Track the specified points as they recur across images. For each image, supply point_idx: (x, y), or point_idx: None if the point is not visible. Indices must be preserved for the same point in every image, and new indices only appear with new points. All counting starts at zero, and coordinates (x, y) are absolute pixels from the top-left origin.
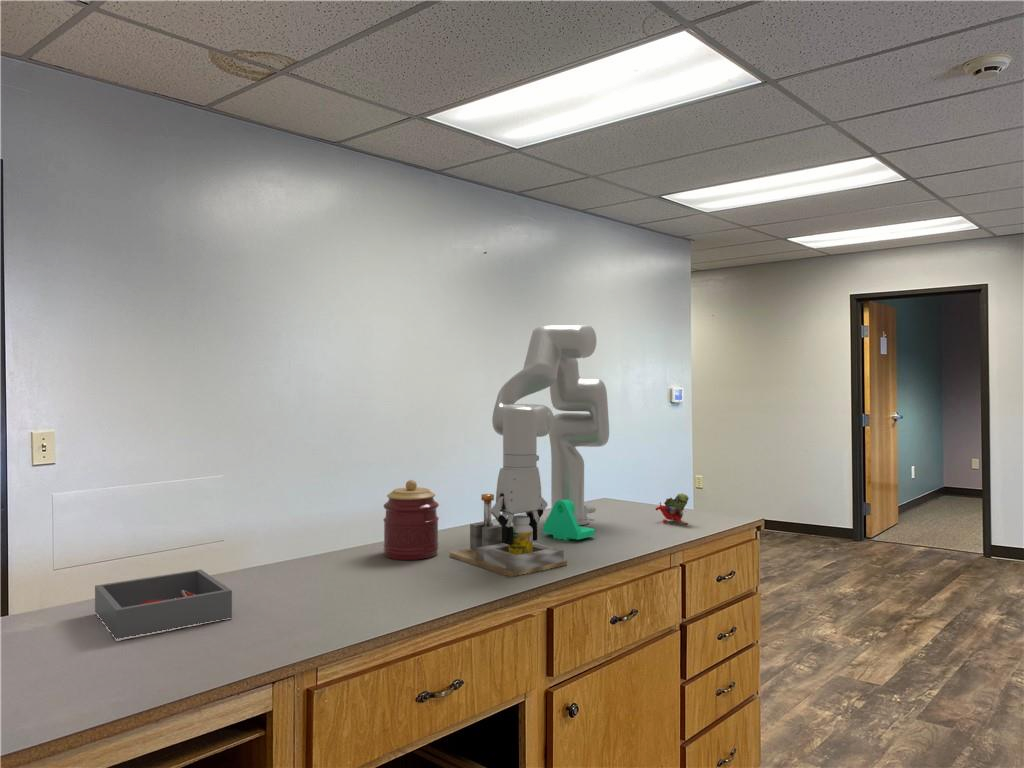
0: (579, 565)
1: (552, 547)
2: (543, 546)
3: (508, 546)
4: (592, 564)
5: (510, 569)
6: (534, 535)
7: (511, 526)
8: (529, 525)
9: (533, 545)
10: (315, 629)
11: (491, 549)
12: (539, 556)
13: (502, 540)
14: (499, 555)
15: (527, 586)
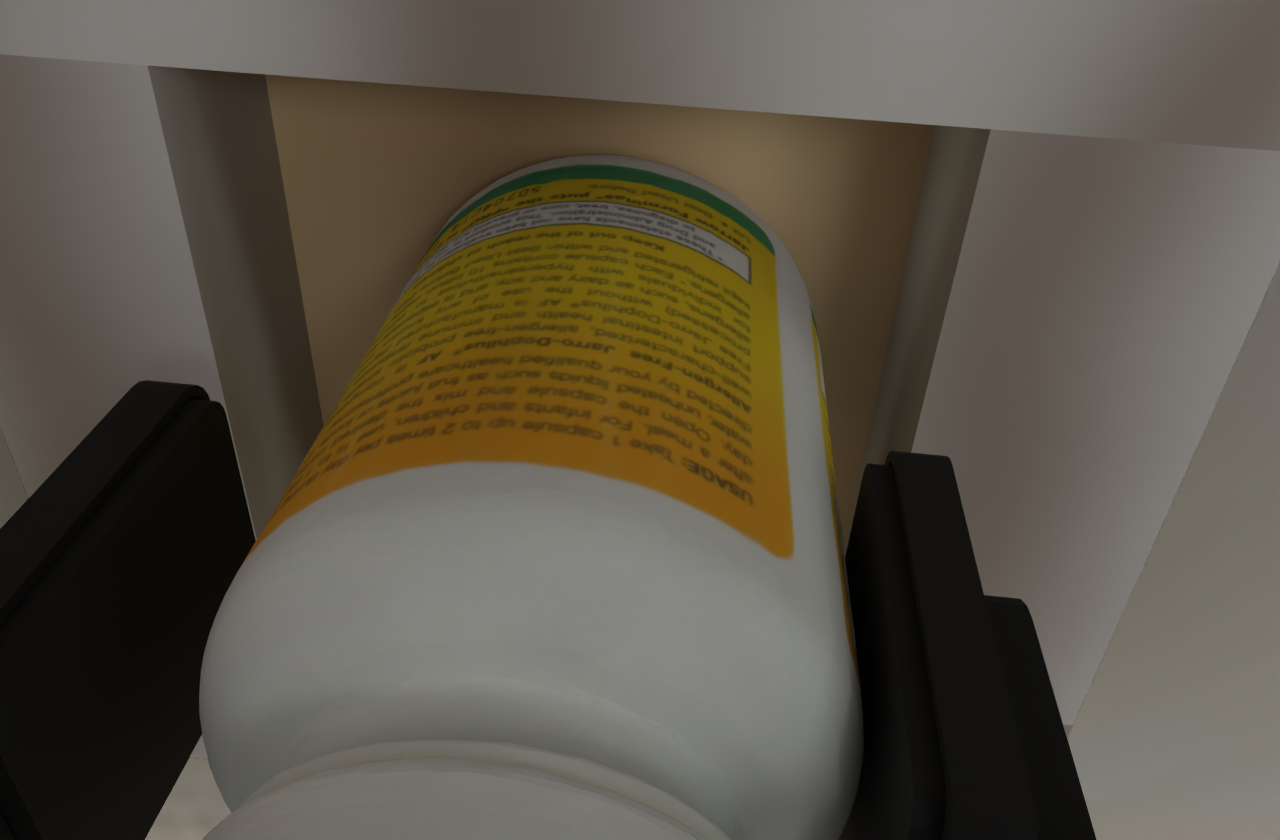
0: (1128, 750)
1: (1075, 694)
2: (1045, 575)
3: (561, 92)
4: (1263, 804)
5: None
6: None
7: (241, 715)
8: (870, 832)
9: (993, 419)
10: None
11: (40, 103)
12: None
13: (127, 411)
14: (32, 489)
15: (172, 811)
